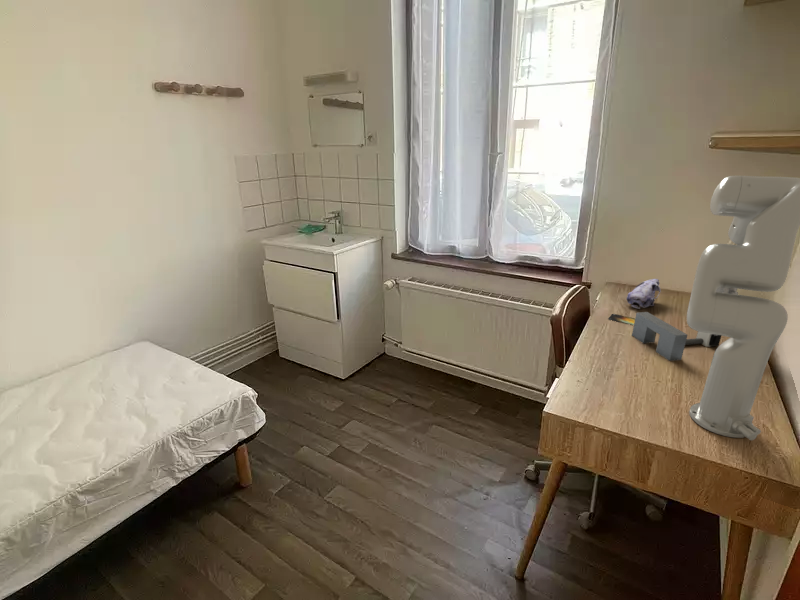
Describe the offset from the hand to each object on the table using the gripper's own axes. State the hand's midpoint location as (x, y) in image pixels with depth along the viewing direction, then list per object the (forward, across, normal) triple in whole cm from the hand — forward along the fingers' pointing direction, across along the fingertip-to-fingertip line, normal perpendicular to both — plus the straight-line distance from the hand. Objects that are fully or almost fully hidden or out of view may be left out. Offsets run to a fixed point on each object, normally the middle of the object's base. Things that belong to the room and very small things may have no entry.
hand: (707, 341), depth 144 cm
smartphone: (+1, +20, +13) cm, 24 cm away
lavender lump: (+1, +34, -2) cm, 34 cm away
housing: (+1, 0, +19) cm, 19 cm away
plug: (+1, 0, +6) cm, 6 cm away
